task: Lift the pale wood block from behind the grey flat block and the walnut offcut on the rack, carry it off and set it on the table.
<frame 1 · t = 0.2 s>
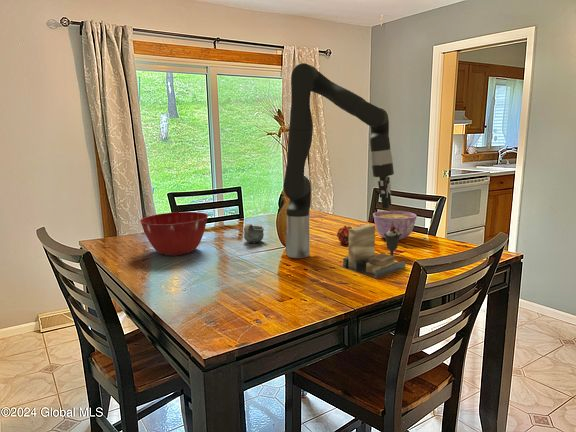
hand: (387, 206, 156), 22 cm above the table, tool pointing down, fingers open, 8 cm apart
rack: (372, 271, 152), on the table
mug: (253, 243, 195), on the table
mixing bowl: (177, 252, 183), on the table
dragon fruit: (346, 243, 192), on the table
bowl of food: (393, 238, 199), on the table
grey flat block: (382, 270, 148), point 1 cm above the table, touching rack, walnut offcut
pale wood block: (361, 264, 156), point 1 cm above the table, touching rack
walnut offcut: (381, 262, 147), point 4 cm above the table, touching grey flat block
sundae: (391, 259, 166), on the table
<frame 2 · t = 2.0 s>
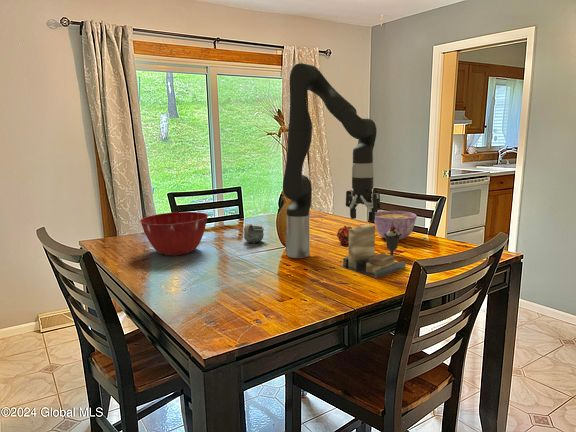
hand: (362, 220, 152), 18 cm above the table, tool pointing down, fingers open, 8 cm apart
nothing on the table moved.
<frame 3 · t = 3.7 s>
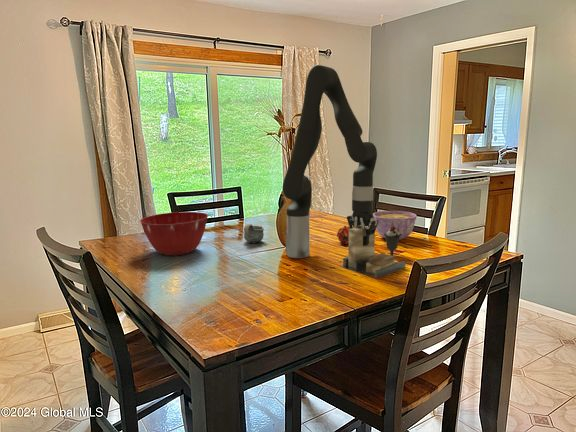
hand: (361, 244, 154), 9 cm above the table, tool pointing down, fingers closed on pale wood block, 3 cm apart
pale wood block: (361, 264, 156), point 2 cm above the table, touching gripper, rack
everything else where it was.
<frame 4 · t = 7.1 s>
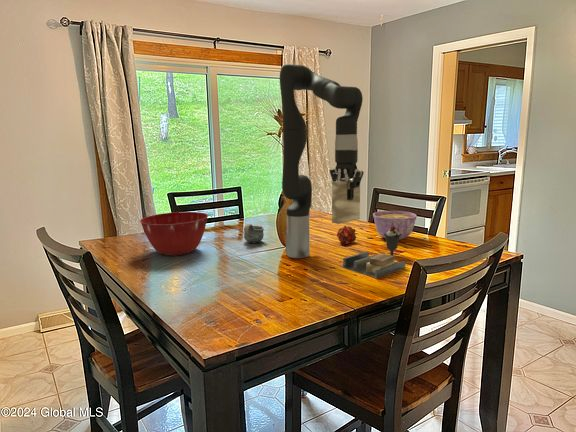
hand: (346, 199, 143), 27 cm above the table, tool pointing down, fingers closed on pale wood block, 3 cm apart
pale wood block: (346, 221, 145), point 20 cm above the table, touching gripper
everything else where it was.
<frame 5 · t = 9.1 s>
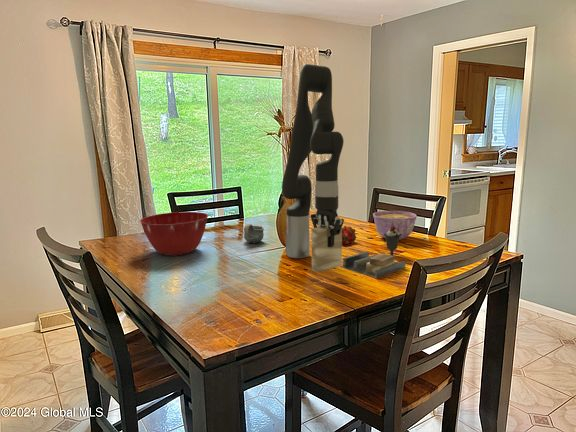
hand: (326, 245, 139), 13 cm above the table, tool pointing down, fingers closed on pale wood block, 3 cm apart
pale wood block: (326, 267, 140), point 5 cm above the table, touching gripper
everything else where it was.
when the fingers open (9 cm above the table, at t = 10.6 s): pale wood block stays where it is, on the table.
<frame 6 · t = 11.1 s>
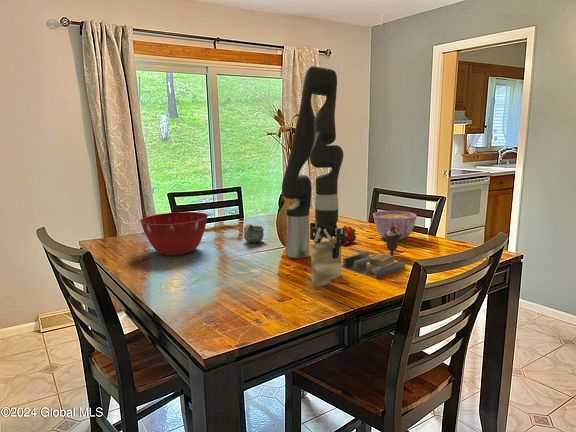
hand: (326, 255, 139), 9 cm above the table, tool pointing down, fingers open, 7 cm apart
pale wood block: (326, 282, 141), on the table
everything else where it was.
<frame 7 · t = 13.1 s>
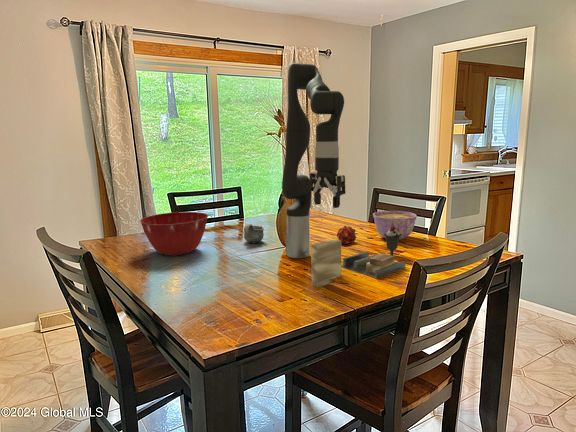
hand: (326, 205, 137), 26 cm above the table, tool pointing down, fingers open, 8 cm apart
nothing on the table moved.
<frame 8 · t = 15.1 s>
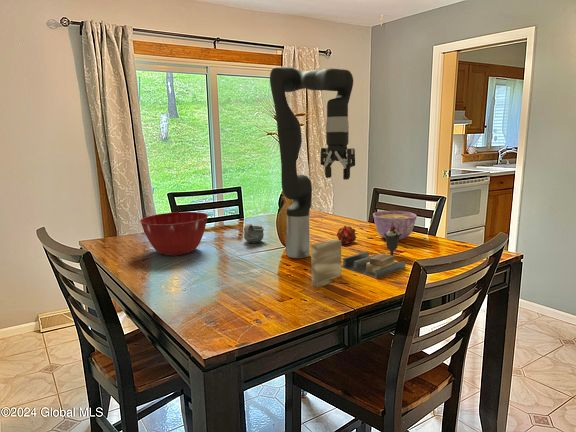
hand: (337, 178, 145), 34 cm above the table, tool pointing down, fingers open, 8 cm apart
nothing on the table moved.
at the end: pale wood block inside the target area (0.1 cm from its centre), on the table; pale wood block tilted 0°; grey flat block moved 0.0 cm from its start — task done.
